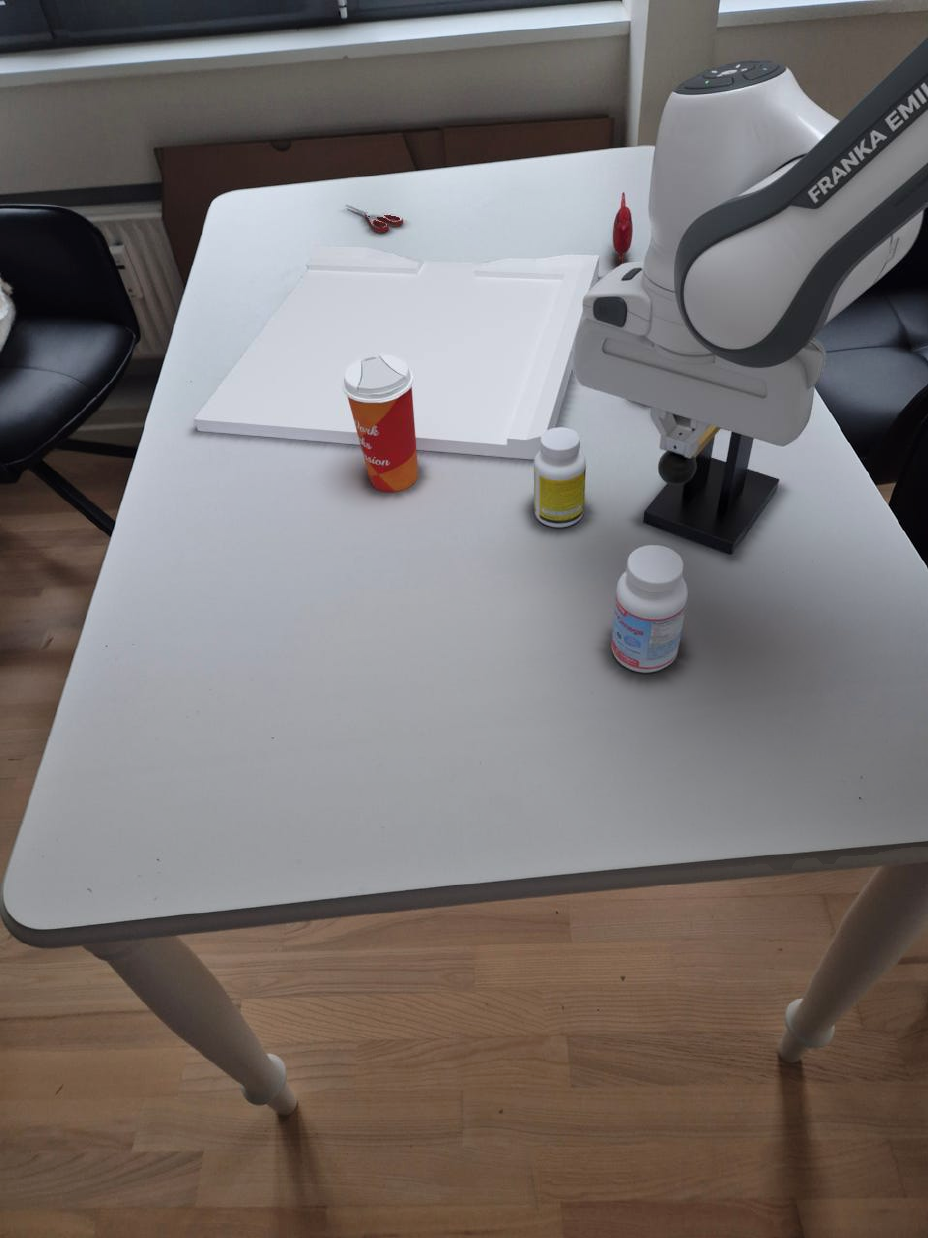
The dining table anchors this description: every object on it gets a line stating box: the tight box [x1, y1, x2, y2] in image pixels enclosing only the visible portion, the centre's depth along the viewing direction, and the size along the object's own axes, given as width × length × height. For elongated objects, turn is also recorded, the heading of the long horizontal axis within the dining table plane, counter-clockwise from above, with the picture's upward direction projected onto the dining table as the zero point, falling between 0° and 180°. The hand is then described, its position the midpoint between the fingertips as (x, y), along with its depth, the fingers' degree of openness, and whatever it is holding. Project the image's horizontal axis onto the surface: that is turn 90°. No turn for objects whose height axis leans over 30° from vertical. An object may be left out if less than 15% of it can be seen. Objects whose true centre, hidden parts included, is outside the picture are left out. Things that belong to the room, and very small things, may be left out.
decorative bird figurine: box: [612, 191, 634, 266], centre depth 131 cm, size 3×18×10 cm, turn 173°
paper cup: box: [342, 355, 419, 493], centre depth 96 cm, size 8×8×14 cm
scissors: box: [345, 204, 404, 233], centre depth 151 cm, size 5×14×1 cm, turn 41°
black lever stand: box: [642, 428, 780, 555], centre depth 88 cm, size 12×10×14 cm
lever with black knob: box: [657, 425, 730, 486], centre depth 81 cm, size 14×3×3 cm, turn 145°
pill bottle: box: [611, 544, 689, 674], centre depth 76 cm, size 6×6×11 cm
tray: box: [193, 245, 600, 461], centre depth 119 cm, size 45×45×4 cm
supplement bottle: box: [533, 426, 587, 528], centre depth 91 cm, size 5×5×10 cm
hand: (678, 450), depth 77 cm, fingers closed
